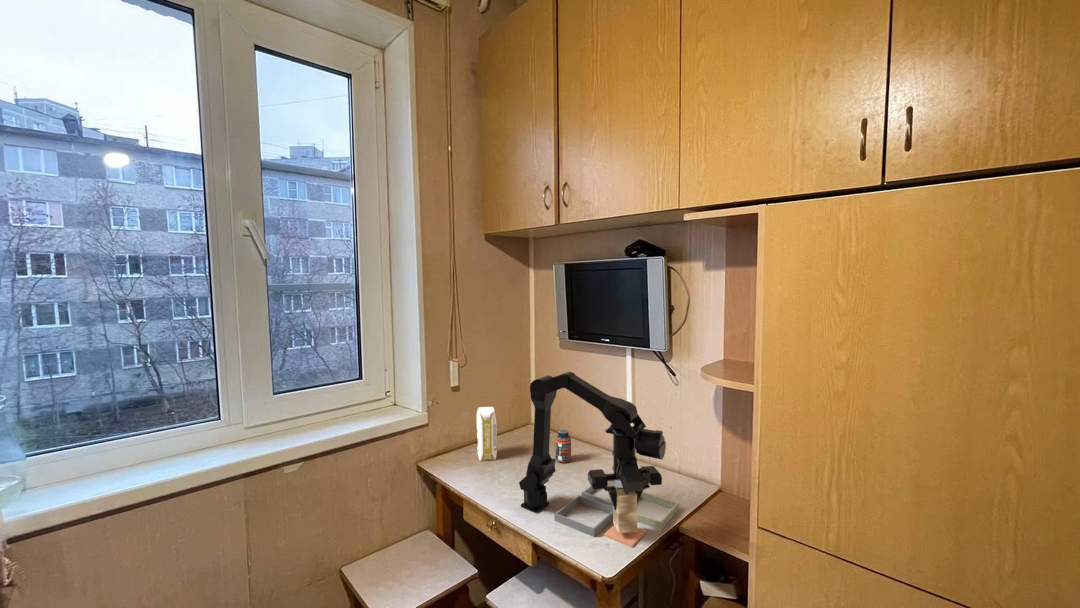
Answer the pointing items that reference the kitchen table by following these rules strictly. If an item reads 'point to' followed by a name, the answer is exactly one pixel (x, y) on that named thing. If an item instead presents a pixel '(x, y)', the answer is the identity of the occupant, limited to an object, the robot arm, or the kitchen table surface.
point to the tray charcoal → (579, 526)
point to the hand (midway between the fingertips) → (624, 508)
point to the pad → (624, 536)
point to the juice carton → (486, 433)
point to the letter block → (625, 511)
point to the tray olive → (660, 501)
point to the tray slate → (587, 494)
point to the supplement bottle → (563, 447)
